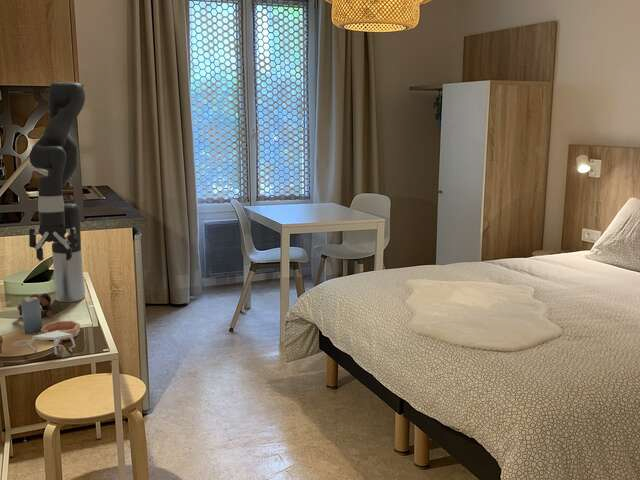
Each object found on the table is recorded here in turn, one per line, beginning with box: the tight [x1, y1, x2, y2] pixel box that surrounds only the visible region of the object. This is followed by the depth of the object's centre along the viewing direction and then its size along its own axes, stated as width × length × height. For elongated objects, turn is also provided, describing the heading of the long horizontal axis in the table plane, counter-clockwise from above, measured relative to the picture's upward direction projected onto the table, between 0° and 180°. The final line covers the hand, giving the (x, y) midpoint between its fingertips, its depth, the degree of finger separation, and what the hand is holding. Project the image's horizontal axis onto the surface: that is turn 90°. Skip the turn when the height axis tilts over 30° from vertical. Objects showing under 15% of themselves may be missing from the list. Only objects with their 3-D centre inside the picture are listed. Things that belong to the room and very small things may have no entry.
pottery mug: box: [17, 293, 55, 320], centre depth 208 cm, size 12×10×8 cm
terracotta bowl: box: [40, 320, 81, 341], centre depth 192 cm, size 10×10×2 cm
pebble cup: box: [20, 296, 43, 335], centre depth 194 cm, size 5×5×11 cm
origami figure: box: [27, 330, 76, 355], centre depth 180 cm, size 12×8×5 cm
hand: (54, 260), depth 208 cm, fingers open, 8 cm apart
